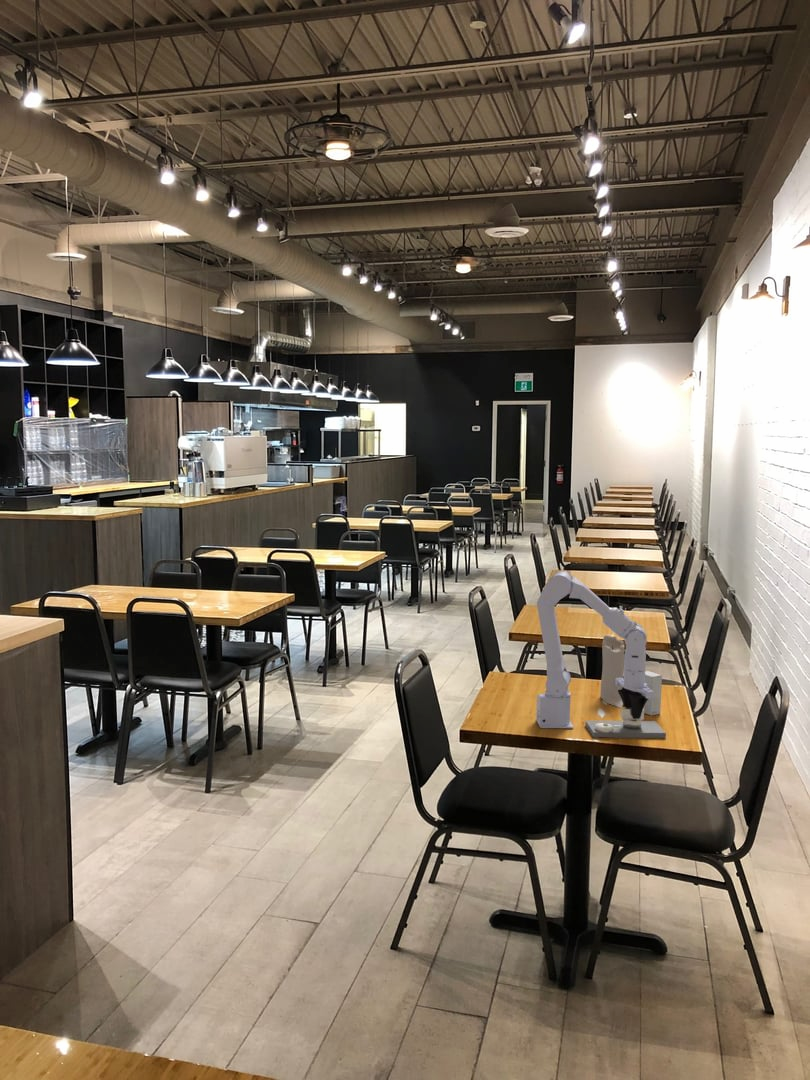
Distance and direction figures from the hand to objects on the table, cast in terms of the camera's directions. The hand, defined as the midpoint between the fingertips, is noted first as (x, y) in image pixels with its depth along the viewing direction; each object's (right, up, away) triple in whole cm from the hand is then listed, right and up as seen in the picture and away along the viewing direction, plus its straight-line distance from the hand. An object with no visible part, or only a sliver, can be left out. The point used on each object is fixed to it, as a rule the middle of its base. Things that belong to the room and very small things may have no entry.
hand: (632, 716), depth 238 cm
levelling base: (-2, -4, +1) cm, 5 cm away
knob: (0, -3, 0) cm, 3 cm away
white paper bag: (+3, -1, +29) cm, 30 cm away
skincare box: (+10, -3, +19) cm, 21 cm away
